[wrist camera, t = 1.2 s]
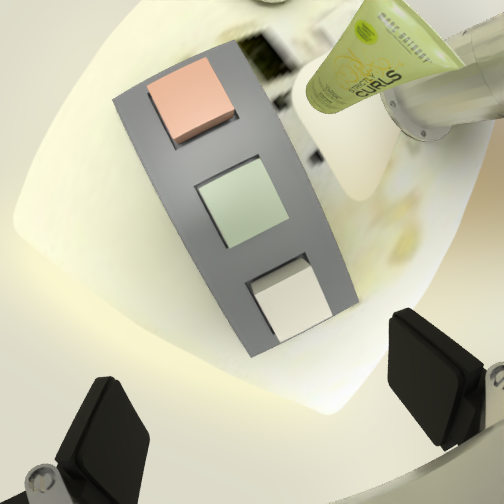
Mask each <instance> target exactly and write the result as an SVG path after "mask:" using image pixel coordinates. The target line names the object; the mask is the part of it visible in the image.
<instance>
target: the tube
mask: <svg viewBox="0 0 504 504" xmlns="http://www.w3.org/2000/svg"><path fill="white" fill-rule="evenodd" d="M464 67H466V65H465V64H464V63H463V61H462V60H461V59H460V58H459V57H458V56H457V55H456V53H455V52H454V51H453V50H452V49H451V48H450V46H449V45H448V44H447V43H446V42H445V41H444V40H443V38H442V37H441V36H440V35H439V34H438V33H437V32H436V31H435V30H434V29H433V28H432V27H431V26H430V25H429V24H428V23H427V22H426V21H425V20H424V19H423V18H422V17H421V16H420V15H419V14H418V13H417V12H416V11H415V10H414V9H413V8H412V7H411V6H410V5H409V4H408V3H406V2H405V1H404V0H364V1H363V3H362V5H361V7H360V8H359V10H358V11H357V13H356V14H355V16H354V18H353V19H352V21H351V22H350V24H349V26H348V27H347V29H346V30H345V32H344V33H343V35H342V36H341V38H340V39H339V41H338V42H337V44H336V45H335V46H334V48H333V49H332V51H331V52H330V54H329V55H328V56H327V58H326V59H325V60H324V62H323V63H322V65H321V66H320V67H319V69H318V70H317V71H316V73H315V74H314V76H313V77H312V78H311V79H310V81H309V82H308V84H307V86H306V96H307V99H308V101H309V102H310V104H311V105H312V106H313V107H314V108H315V109H316V110H318V111H320V112H322V113H325V114H333V113H337V112H339V111H341V110H343V109H345V108H347V107H349V106H351V105H353V104H355V103H358V102H360V101H362V100H364V99H366V98H368V97H371V96H373V95H375V94H377V93H380V92H383V91H385V90H388V89H390V88H393V87H396V86H398V85H401V84H404V83H407V82H410V81H413V80H416V79H420V78H423V77H427V76H430V75H434V74H438V73H443V72H447V71H454V70H459V69H461V68H464Z"/></svg>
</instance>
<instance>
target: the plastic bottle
mask: <svg viewBox="0 0 504 504" xmlns="http://www.w3.org/2000/svg"><path fill="white" fill-rule="evenodd" d="M260 1H263V2H268V3H278V2H283V1H286V0H260Z"/></svg>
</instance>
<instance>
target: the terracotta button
mask: <svg viewBox="0 0 504 504" xmlns="http://www.w3.org/2000/svg"><path fill="white" fill-rule="evenodd" d="M147 88H148V90H149V92H150V94H151V96H152V98H153V100H154V102H155V104H156V106H157V108H158V110H159V112H160V114H161V116H162V118H163V120H164V122H165V124H166V126H167V128H168V130H169V132H170V134H171V136H172V138H173V140H174V141H175V142H176V143H177V144H180V143H182V142H184V141H186V140H188V139H190V138H192V137H194V136H196V135H198V134H200V133H202V132H204V131H206V130H208V129H210V128H212V127H214V126H216V125H218V124H220V123H222V122H224V121H226V120H228V119H231V118H233V115H234V110H235V109H234V107H233V105H232V103H231V101H230V99H229V97H228V96H227V94H226V92H225V90H224V88H223V86H222V85H221V83H220V81H219V79H218V77H217V75H216V74H215V72H214V70H213V68H212V67H211V65H210V63H209V61H208V59H207V58H206V57H205V58H202V59H200V60H198V61H196V62H193V63H191V64H189V65H187V66H185V67H183V68H180V69H178V70H176V71H174V72H172V73H170V74H168V75H166V76H164V77H162V78H160V79H159V80H157V81H155V82H153V83H151V84H149V85H147Z"/></svg>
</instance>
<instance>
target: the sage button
mask: <svg viewBox="0 0 504 504" xmlns="http://www.w3.org/2000/svg"><path fill="white" fill-rule="evenodd" d="M199 191H200V193H201V195H202V197H203V199H204V201H205V203H206V205H207V206H208V208H209V210H210V212H211V214H212V216H213V218H214V220H215V222H216V224H217V226H218V228H219V229H220V231H221V233H222V235H223V237H224V239H225V241H226V243H227V245H228V247H229V248H232V247H234V246H236V245H238V244H240V243H242V242H244V241H246V240H248V239H250V238H252V237H254V236H256V235H257V234H259V233H261V232H263V231H265V230H267V229H269V228H271V227H273V226H275V225H277V224H279V223H281V222H283V221H285V220H287V219H289V216H288V214H287V212H286V210H285V208H284V206H283V204H282V202H281V200H280V197H279V195H278V193H277V191H276V189H275V187H274V185H273V183H272V181H271V179H270V177H269V175H268V173H267V171H266V169H265V167H264V165H263V163H262V161H261V159H260V158H259V159H257V160H255V161H252V162H250V163H248V164H246V165H244V166H242V167H240V168H238V169H236V170H234V171H232V172H230V173H228V174H226V175H224V176H222V177H220V178H218V179H216V180H214V181H212V182H210V183H208V184H206V185H204V186H203V187H201V188H199Z"/></svg>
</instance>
